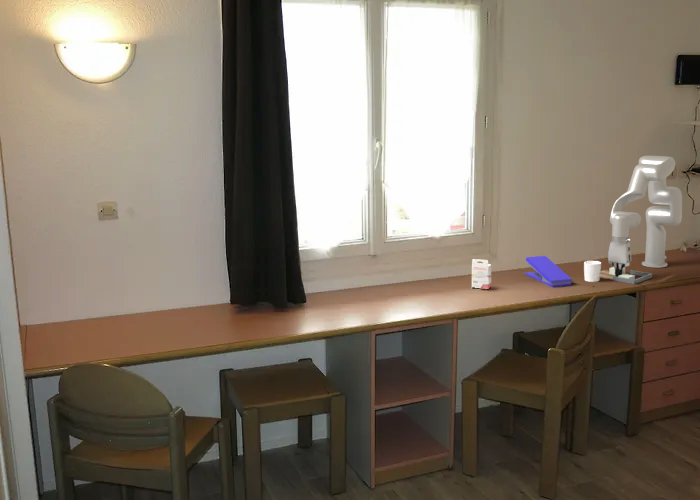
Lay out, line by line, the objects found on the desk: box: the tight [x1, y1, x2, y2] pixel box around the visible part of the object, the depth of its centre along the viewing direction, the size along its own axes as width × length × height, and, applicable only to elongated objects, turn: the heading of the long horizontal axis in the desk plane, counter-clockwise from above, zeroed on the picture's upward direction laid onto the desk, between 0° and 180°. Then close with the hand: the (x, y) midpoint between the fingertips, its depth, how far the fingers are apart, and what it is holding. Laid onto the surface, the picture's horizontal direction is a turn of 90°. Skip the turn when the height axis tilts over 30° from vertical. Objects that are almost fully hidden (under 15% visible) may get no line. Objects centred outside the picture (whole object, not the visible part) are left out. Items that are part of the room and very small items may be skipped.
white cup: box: [583, 260, 602, 283], centre depth 352 cm, size 8×8×10 cm
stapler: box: [524, 255, 572, 288], centre depth 359 cm, size 12×28×10 cm, turn 15°
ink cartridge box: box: [471, 258, 492, 290], centre depth 347 cm, size 9×5×15 cm, turn 62°
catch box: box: [612, 269, 654, 285], centre depth 353 cm, size 18×11×3 cm, turn 132°
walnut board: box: [600, 269, 629, 281], centre depth 362 cm, size 16×14×1 cm
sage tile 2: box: [609, 266, 626, 275], centre depth 363 cm, size 6×6×3 cm
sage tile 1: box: [618, 273, 636, 280], centre depth 350 cm, size 6×6×3 cm
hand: (618, 276), depth 354 cm, fingers closed
